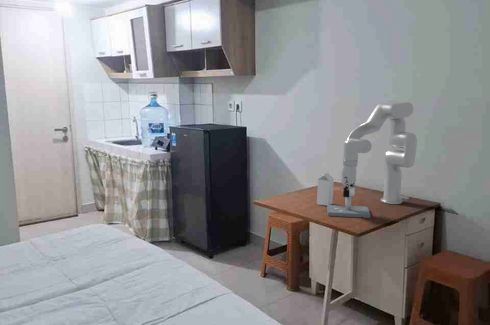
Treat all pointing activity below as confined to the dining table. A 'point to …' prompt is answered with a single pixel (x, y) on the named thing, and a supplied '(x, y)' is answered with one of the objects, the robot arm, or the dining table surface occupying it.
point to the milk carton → (325, 190)
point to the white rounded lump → (351, 191)
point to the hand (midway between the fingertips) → (348, 195)
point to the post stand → (348, 210)
